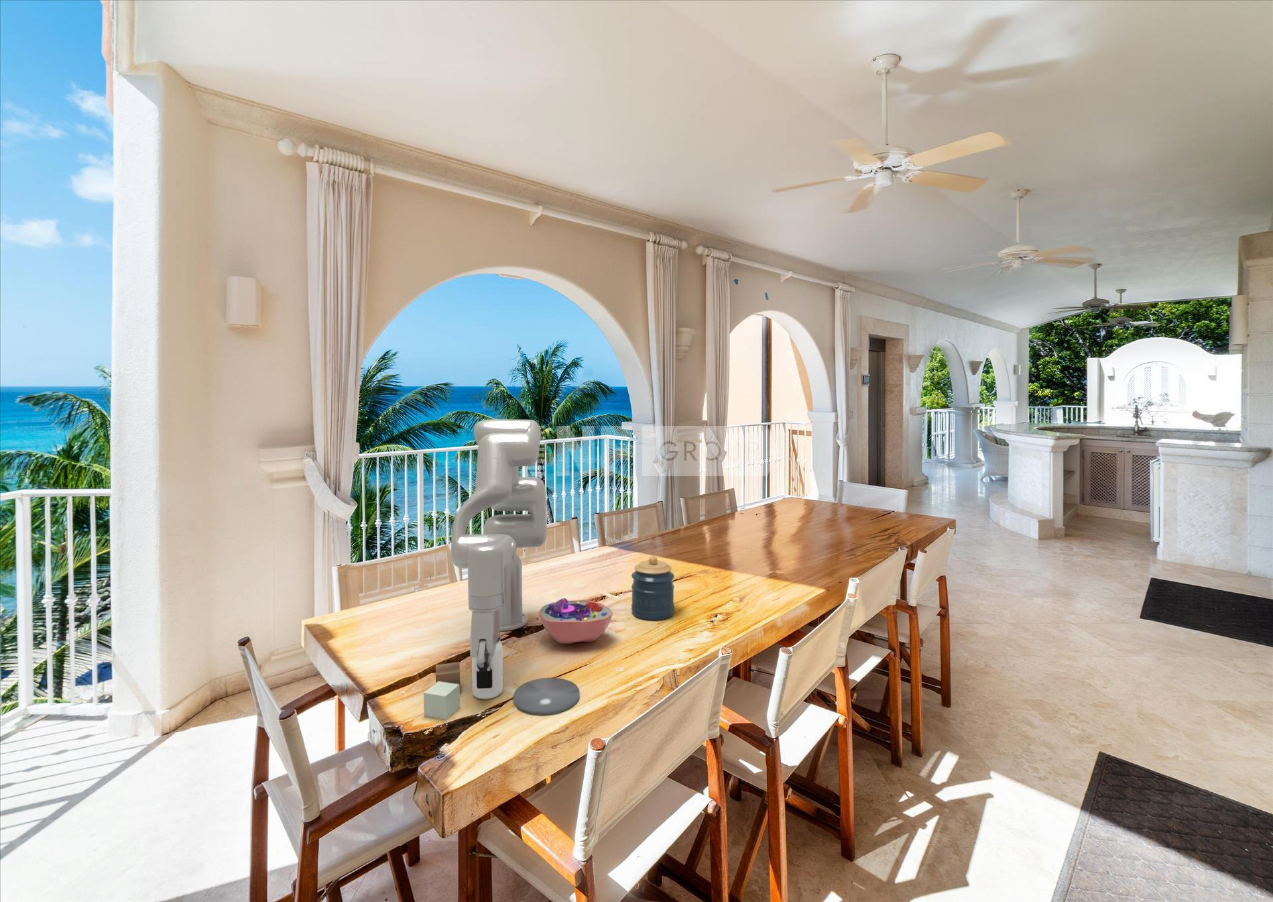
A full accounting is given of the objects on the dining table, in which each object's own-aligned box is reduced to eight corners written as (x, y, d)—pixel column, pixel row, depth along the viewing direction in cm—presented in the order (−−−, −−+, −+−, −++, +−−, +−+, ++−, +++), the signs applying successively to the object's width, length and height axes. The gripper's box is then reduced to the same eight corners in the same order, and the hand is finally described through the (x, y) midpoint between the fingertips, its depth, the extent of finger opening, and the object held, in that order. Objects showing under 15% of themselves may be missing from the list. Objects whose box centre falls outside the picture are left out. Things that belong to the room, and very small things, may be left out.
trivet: (517, 682, 128) (517, 678, 128) (579, 680, 130) (579, 676, 130) (509, 716, 115) (509, 711, 115) (578, 713, 116) (578, 709, 116)
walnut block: (436, 686, 127) (435, 664, 126) (459, 683, 128) (459, 661, 128) (436, 697, 122) (435, 675, 122) (460, 693, 124) (460, 671, 123)
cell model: (603, 657, 142) (603, 613, 141) (528, 650, 146) (527, 607, 145) (619, 631, 158) (619, 591, 157) (551, 625, 162) (550, 586, 161)
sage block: (439, 703, 119) (438, 681, 119) (459, 707, 118) (459, 684, 118) (424, 716, 115) (423, 692, 114) (445, 720, 113) (445, 696, 113)
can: (505, 685, 127) (505, 633, 126) (499, 700, 121) (498, 645, 120) (476, 685, 127) (475, 633, 126) (469, 700, 121) (468, 646, 120)
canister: (626, 608, 176) (626, 552, 175) (665, 603, 180) (665, 549, 179) (638, 623, 164) (639, 563, 162) (680, 618, 168) (681, 560, 166)
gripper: (476, 587, 131) (478, 661, 132) (459, 614, 113) (461, 700, 115) (509, 586, 131) (510, 660, 133) (497, 614, 114) (498, 699, 115)
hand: (487, 678), depth 124 cm, fingers open, 6 cm apart
